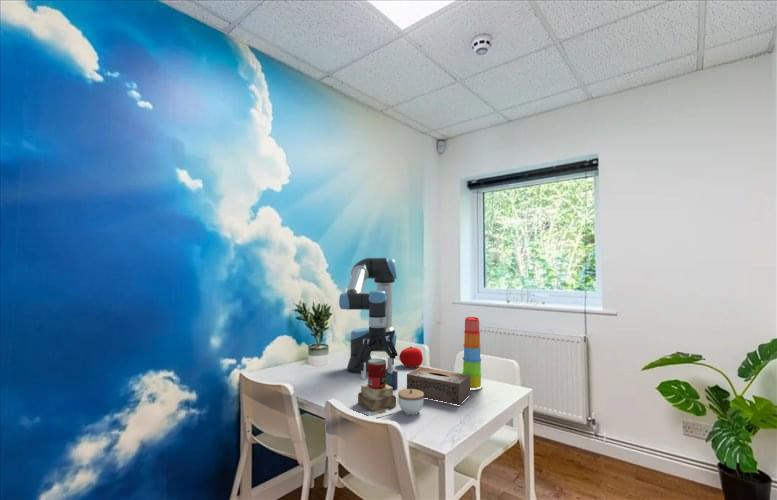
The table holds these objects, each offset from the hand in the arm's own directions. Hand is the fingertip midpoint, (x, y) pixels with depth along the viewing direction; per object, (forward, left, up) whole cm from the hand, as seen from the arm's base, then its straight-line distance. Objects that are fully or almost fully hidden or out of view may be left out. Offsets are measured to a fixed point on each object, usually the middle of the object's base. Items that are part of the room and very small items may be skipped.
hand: (376, 375), depth 161 cm
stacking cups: (-52, +6, -13) cm, 54 cm away
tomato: (-49, -39, -13) cm, 64 cm away
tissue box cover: (-30, +6, -13) cm, 33 cm away
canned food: (0, 0, -5) cm, 5 cm away
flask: (-16, -15, -13) cm, 25 cm away
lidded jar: (-8, +14, -13) cm, 21 cm away
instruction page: (+4, +8, -13) cm, 16 cm away
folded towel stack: (0, 0, -13) cm, 13 cm away
